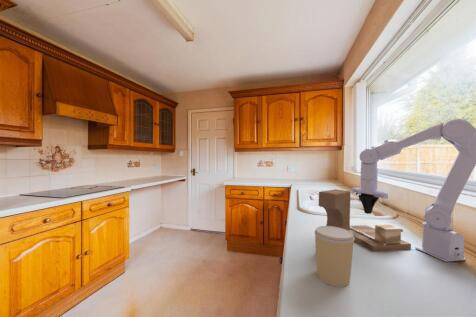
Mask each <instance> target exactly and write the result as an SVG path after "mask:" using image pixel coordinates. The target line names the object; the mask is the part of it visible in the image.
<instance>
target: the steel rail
mask: <svg viewBox="0 0 476 317" xmlns="http://www.w3.org/2000/svg"><path fill="white" fill-rule="evenodd" d="M350 229H351V230H353V231H355V232H357V233H359V234H361V235H363V236H365V237H368V238H370V239H372V240H374V241H376V242H378V243H380V244H382V245H386V243H384V242H382V241H380V240H378V239H376V238H374V237H371V236H369V235H367V234H365V233H363V232H361V231H359V230H356V229H354V228H352V227H350Z"/></svg>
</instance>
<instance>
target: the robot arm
mask: <svg viewBox="0 0 476 317" xmlns="http://www.w3.org/2000/svg"><path fill="white" fill-rule="evenodd" d="M442 138H443V139H444V140H445V141H447V142H448V143H450V144H452V145H453V147H454V148H455V149H456V150H457V152H458V154H457V155H456V158H455V160H454V161H453V163H452V166H451V167H450V170H449V172H448V174H447V176H446V178H445V179H444V181H443V183H442V186H441V187H440V190H439V192H438V193H437V195H436V197H435V199H434V200H433V201H432V203H431V204H429V206H427V207H426V208H425V210H424V211H425V212H424V215H423V216H424V220H425V221H423V222H422V240H421V244H422V245H421V246H415V247H414V248H415V249H416V250H418V251H420V252H422V253H425V254H427V255H429V256H433V257H435V258H437V259H439V260H441V261H444V262H459V261H466V260H467V258H465V238H464V236H463V235H462V234H461V233H459V232H456V231H455V230H454V228H453V226H451V225H452V222H453V220H452V219H453V218H452V214H453V212H454V209H455V205H456V203H457V201H458V199H459V197H460V195H461V194H462V191H463V190H464V188H465V186H466V185H467V183H468V181H469V178H470V176H471V175H472V173H473V171H474V169H475V168H476V127H475V126H474V125H473V124H472V123H471V122H469V121H468V120H465V119H463V118H456V119H450V120H449V121H447V122H445V123H444V122H442V123H438V124H435V125H432V126H430V127H427V128H426V129H422V130H421V131H417V132H416V133H414V134H411V135H409V136H406V137H403V138H402V139H400V140H395V139H390V140H388V139H387V140H384V143H381V144H378V145H376V146H375V145H374V146H371V147H370V148H365V149H364V150H362V151H361V152H360V153H359V160H360V161H361V162H360V182H359V183H360V184H359V185H360V187H351V193H356V194H360V195H357V196H358V198H359V200H360V202H361V204H362V208H363V213H364V214H366V215H369V214H372V212H373V211H374V210H373V209H374V206H375V204H376V203H377V201H379V198H380V199H384V200H386V199H389V193H387V192H383V191H379V190H378V170H379V169H378V162H379V160H380V161H383V160H385V159H388V158H391V157H394V156H396V155H399V154H401V152H402V150H403V149H405V148H408V147H411V146H414V145H417V144H420V143H423V142H425V141H428V140H433V141H434V140H439V141H440V140H442Z"/></svg>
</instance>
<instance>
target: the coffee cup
mask: <svg viewBox="0 0 476 317" xmlns="http://www.w3.org/2000/svg"><path fill="white" fill-rule="evenodd" d="M314 236H315V237H314V238H315V239H314V240H315V242H314V243H315V260H316V262H315V263H316V275H317V278H318V279H319V280H320V281H322V282H323V283H325V284H327V285H330V286H333V287H338V288H339V287H340V288H341V287H346V286H348V285H350V280H351V273H352V263H353V253H354V243H355V241H354V240H355V238H354V236H353V234H352V233H351V232H350V231H348V230H346V229H343V228H339V227H333V226H326V225H320V226H317V227H316V228H315V230H314Z"/></svg>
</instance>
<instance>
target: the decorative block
mask: <svg viewBox="0 0 476 317" xmlns="http://www.w3.org/2000/svg"><path fill="white" fill-rule="evenodd" d="M318 206H319V207H320V208H323V209H324V210H325V212H326V219H327V220H326V225H325V226H333V227H339V228H343V229H346V230H348V231H350V226H351V225H350V224H351V223H350V222H351V191H350V190H345V189H336V188H335V189H329V190H321V191H319V192H318Z"/></svg>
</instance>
